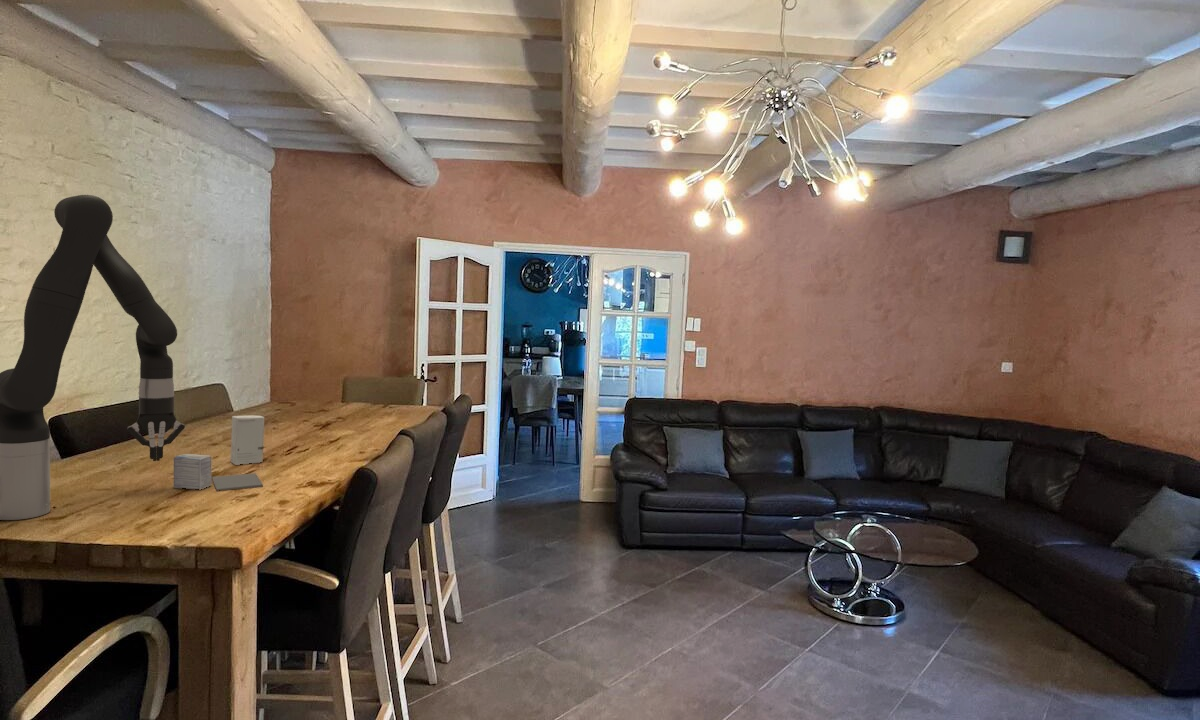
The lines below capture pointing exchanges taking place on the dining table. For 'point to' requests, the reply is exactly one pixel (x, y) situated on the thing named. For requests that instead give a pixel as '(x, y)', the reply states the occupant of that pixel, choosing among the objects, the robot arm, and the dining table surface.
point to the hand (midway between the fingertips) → (156, 460)
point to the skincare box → (247, 439)
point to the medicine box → (192, 471)
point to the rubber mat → (236, 482)
